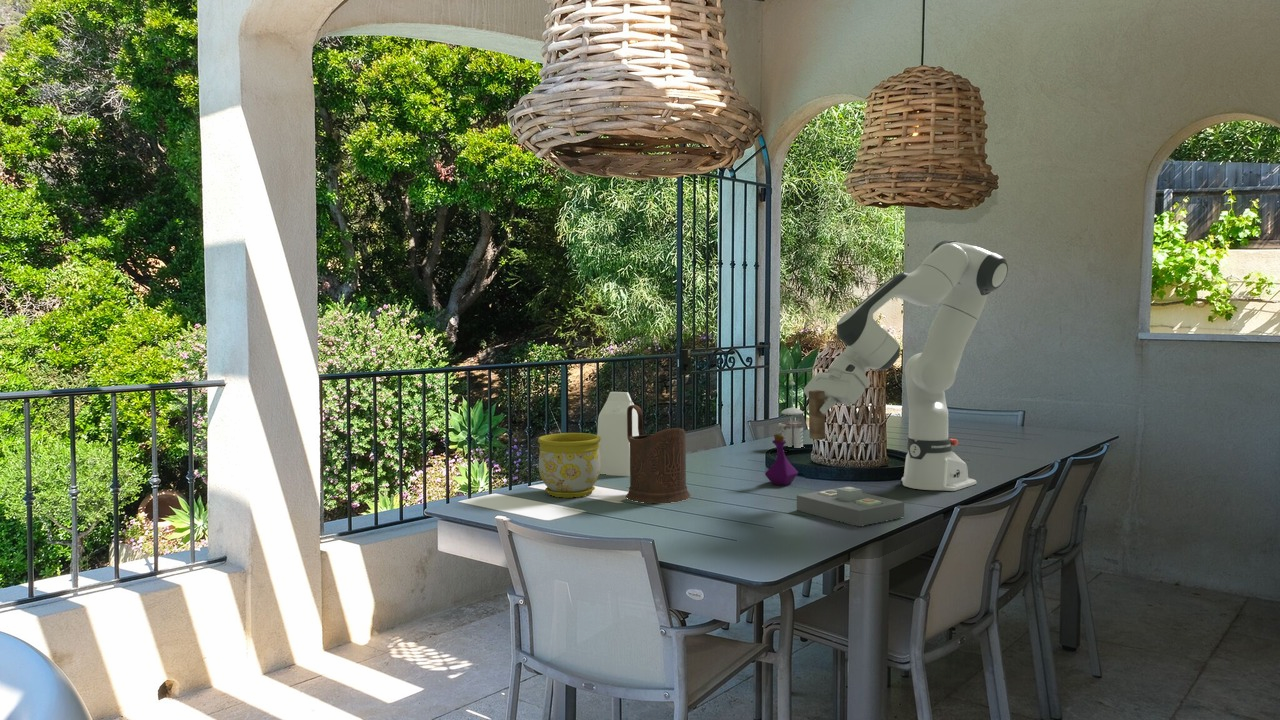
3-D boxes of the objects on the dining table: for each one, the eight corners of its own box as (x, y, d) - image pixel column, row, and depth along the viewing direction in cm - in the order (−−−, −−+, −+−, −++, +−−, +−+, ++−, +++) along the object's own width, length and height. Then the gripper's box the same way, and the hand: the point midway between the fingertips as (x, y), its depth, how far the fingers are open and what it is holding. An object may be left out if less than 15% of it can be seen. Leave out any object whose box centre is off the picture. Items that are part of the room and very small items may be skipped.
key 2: (867, 511, 234) (867, 497, 234) (881, 515, 231) (881, 500, 231) (855, 514, 232) (855, 499, 232) (868, 517, 228) (869, 502, 228)
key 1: (831, 502, 245) (831, 489, 245) (843, 505, 242) (843, 492, 241) (819, 505, 243) (819, 491, 243) (831, 508, 239) (831, 494, 239)
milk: (644, 470, 301) (643, 391, 299) (630, 476, 290) (629, 394, 288) (610, 467, 305) (609, 390, 303) (595, 474, 295) (594, 393, 293)
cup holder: (649, 507, 247) (648, 415, 246) (603, 492, 267) (601, 406, 266) (704, 498, 258) (703, 409, 256) (655, 484, 278) (654, 402, 276)
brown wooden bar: (818, 437, 252) (817, 390, 251) (825, 438, 250) (824, 391, 249) (809, 438, 251) (808, 391, 250) (816, 439, 249) (815, 392, 248)
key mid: (849, 499, 240) (849, 485, 240) (861, 502, 236) (861, 488, 236) (836, 502, 237) (837, 487, 237) (849, 505, 234) (849, 490, 233)
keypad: (840, 502, 250) (840, 487, 250) (904, 517, 232) (904, 502, 232) (796, 510, 242) (796, 495, 241) (859, 527, 223) (859, 510, 223)
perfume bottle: (786, 487, 271) (786, 426, 270) (764, 484, 275) (764, 424, 274) (798, 483, 277) (798, 423, 276) (776, 480, 281) (776, 421, 280)
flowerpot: (546, 502, 255) (545, 443, 253) (533, 489, 272) (532, 434, 271) (608, 497, 260) (608, 439, 259) (592, 485, 277) (591, 431, 276)
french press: (804, 447, 343) (804, 380, 341) (807, 452, 331) (807, 383, 329) (778, 446, 344) (777, 380, 342) (779, 452, 332) (779, 383, 330)
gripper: (816, 363, 262) (787, 399, 258) (861, 368, 243) (830, 407, 240) (829, 378, 264) (801, 414, 260) (875, 384, 245) (844, 423, 242)
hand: (815, 411), depth 250 cm, fingers closed on brown wooden bar, 3 cm apart
